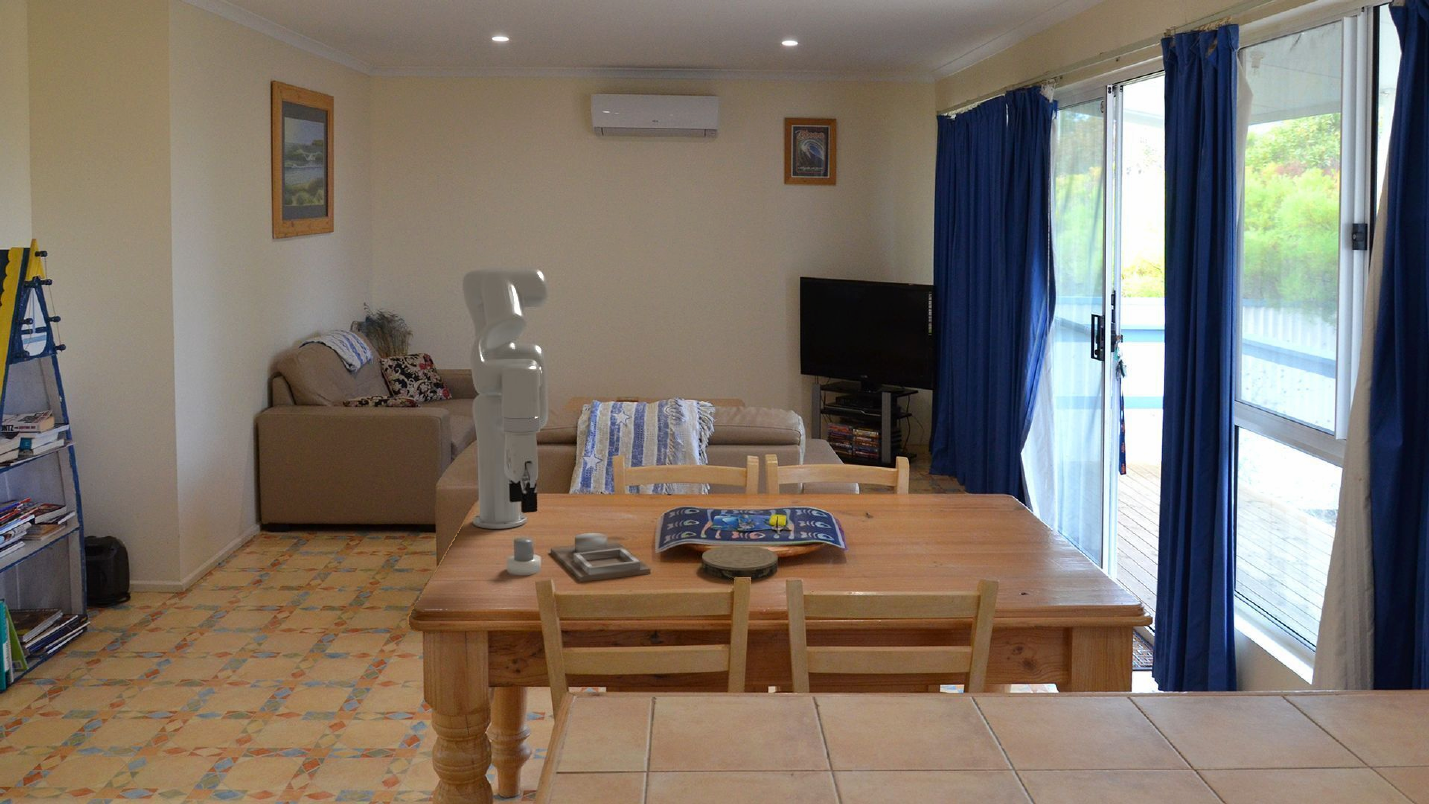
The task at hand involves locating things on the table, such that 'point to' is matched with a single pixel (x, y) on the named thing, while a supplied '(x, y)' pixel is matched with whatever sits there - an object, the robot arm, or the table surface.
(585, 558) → the carrier board
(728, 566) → the grey brown round disc
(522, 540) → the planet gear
